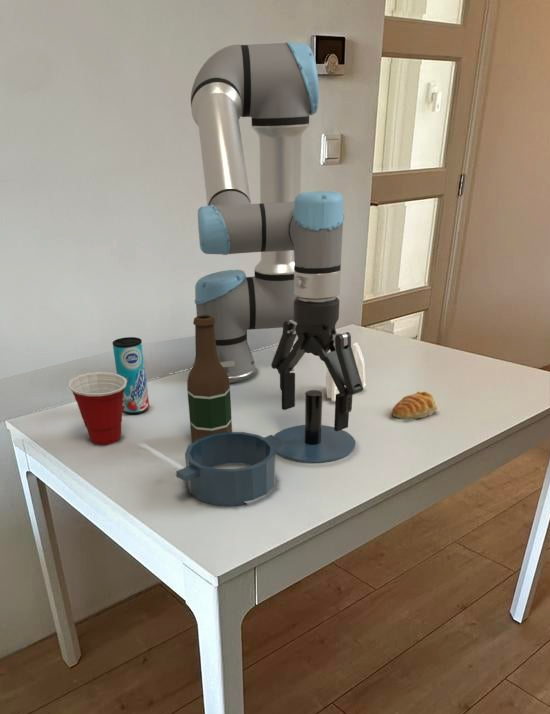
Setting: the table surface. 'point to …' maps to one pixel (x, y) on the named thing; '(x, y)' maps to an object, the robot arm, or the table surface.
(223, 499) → the pot
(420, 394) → the pastry
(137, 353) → the beverage can
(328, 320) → the robot arm
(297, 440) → the lid
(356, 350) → the shaker set
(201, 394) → the beer bottle
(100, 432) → the plastic cup
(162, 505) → the table surface
